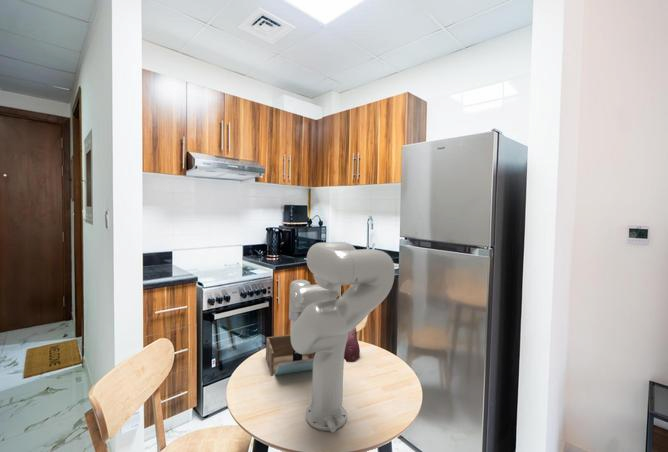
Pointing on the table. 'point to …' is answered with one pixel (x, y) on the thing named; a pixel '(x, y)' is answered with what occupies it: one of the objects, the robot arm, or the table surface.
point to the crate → (280, 351)
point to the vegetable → (352, 347)
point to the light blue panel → (294, 366)
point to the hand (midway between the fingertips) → (297, 361)
